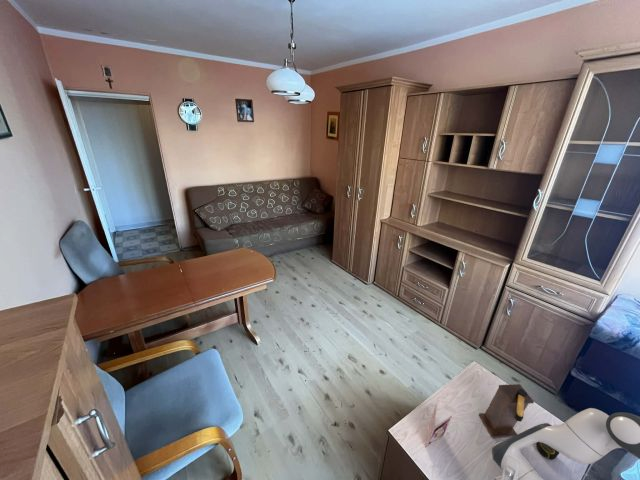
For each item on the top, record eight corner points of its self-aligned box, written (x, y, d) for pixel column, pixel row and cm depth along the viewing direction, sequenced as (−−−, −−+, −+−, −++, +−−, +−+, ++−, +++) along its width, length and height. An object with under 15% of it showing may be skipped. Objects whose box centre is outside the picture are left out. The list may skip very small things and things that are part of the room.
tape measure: (557, 455, 114) (561, 451, 112) (549, 464, 111) (553, 459, 109) (539, 440, 119) (543, 435, 118) (531, 447, 116) (535, 443, 115)
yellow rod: (522, 423, 102) (526, 417, 101) (512, 418, 104) (516, 412, 102) (524, 397, 112) (527, 391, 110) (515, 393, 114) (518, 387, 112)
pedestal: (516, 436, 120) (538, 404, 109) (491, 438, 119) (511, 405, 108) (501, 414, 129) (520, 382, 118) (478, 415, 128) (495, 382, 117)
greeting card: (427, 449, 113) (435, 429, 107) (414, 432, 119) (421, 412, 113) (445, 437, 118) (454, 417, 112) (431, 421, 124) (440, 401, 117)
